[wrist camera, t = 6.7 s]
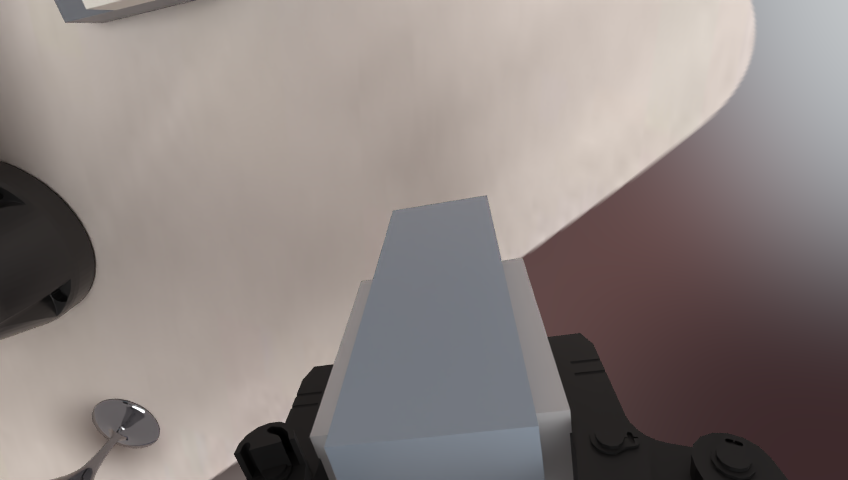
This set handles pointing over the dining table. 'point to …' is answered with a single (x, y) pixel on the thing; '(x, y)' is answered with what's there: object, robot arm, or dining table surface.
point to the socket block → (108, 9)
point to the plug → (437, 360)
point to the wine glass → (118, 432)
